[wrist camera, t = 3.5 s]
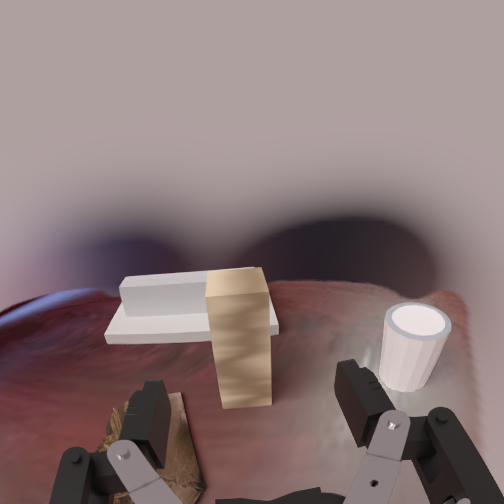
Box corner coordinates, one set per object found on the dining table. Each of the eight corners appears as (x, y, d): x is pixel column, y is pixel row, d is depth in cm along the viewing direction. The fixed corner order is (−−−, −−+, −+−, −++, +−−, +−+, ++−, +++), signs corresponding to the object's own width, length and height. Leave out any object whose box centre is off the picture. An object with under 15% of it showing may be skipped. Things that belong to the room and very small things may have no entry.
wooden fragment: (130, 386, 28) (128, 379, 28) (231, 401, 26) (230, 394, 26) (19, 577, 4) (10, 574, 4) (155, 650, 3) (149, 651, 2)
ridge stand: (107, 344, 35) (94, 303, 33) (129, 300, 46) (121, 266, 44) (278, 334, 36) (278, 291, 34) (265, 290, 47) (264, 254, 45)
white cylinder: (371, 395, 25) (386, 337, 23) (373, 352, 31) (383, 298, 29) (436, 397, 23) (458, 341, 20) (429, 355, 29) (444, 302, 26)
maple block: (223, 409, 25) (205, 297, 21) (222, 377, 29) (207, 271, 25) (271, 404, 25) (269, 291, 21) (265, 373, 30) (261, 267, 26)
